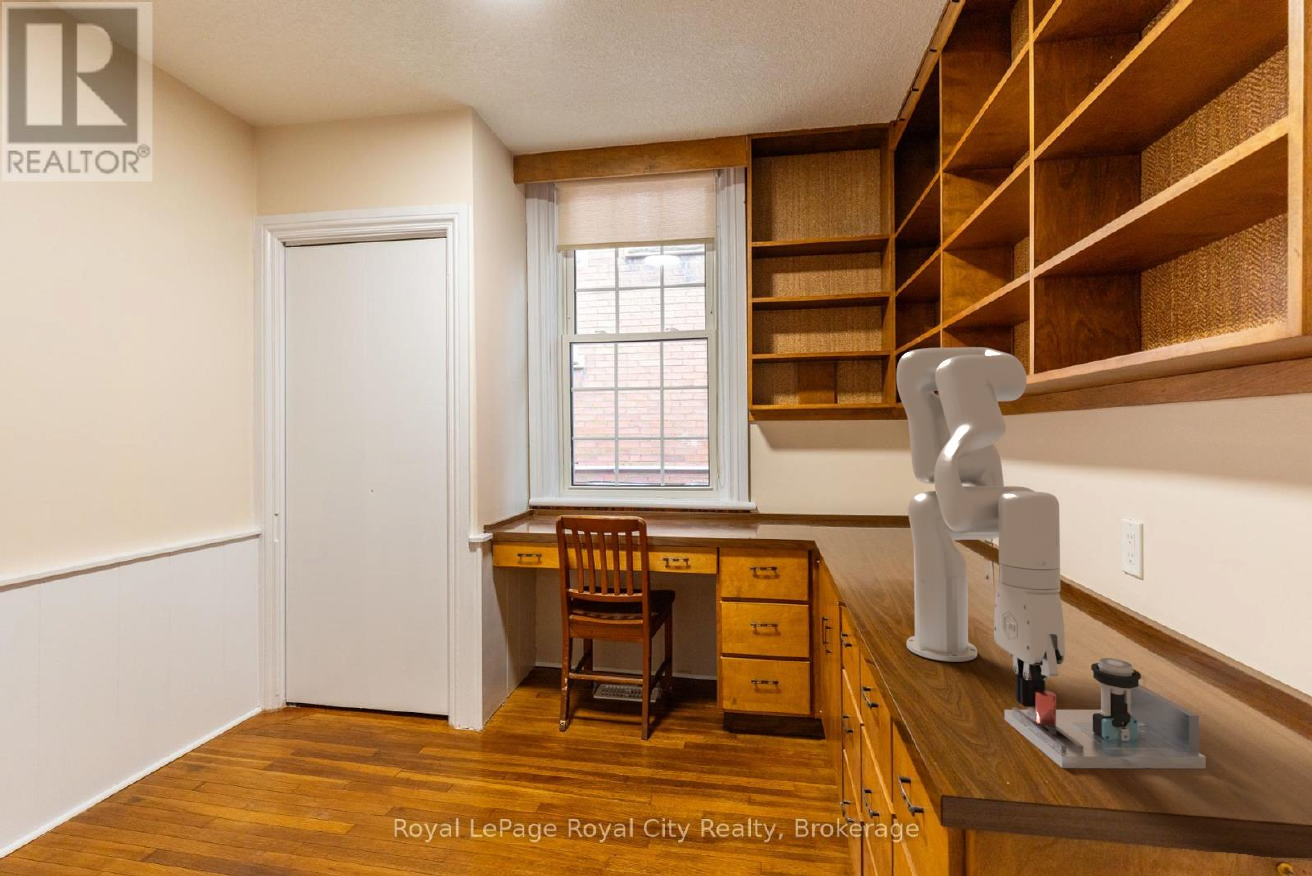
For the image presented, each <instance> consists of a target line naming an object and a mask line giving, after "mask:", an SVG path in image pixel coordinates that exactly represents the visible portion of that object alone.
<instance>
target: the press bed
mask: <svg viewBox="0 0 1312 876" xmlns="http://www.w3.org/2000/svg"><path fill="white" fill-rule="evenodd" d="M1100 711H1101V709H1056V726H1055V727H1057V735H1051V734H1050V733H1049V732H1047V731H1046V730H1045V729H1044V728H1042V727H1041V726H1040V725H1038V724H1037V723H1036V720H1035V708H1033V707H1027V709H1019V708H1018V707H1016V706H1014V707H1012V708H1011V709H1004V720H1005V722H1007V723H1008V724H1009V725H1010V726H1012V727H1013V728H1014V729H1015V730H1016V731H1018V733H1020V734H1021V735H1023V737H1025V738H1026V739H1027V740H1028V741H1029V742H1030V743H1032V744H1033V745H1034V746H1035V747H1036V748H1037V749H1039V750H1040V751H1041V752H1042V753H1043V754H1045V755H1046V756H1047V757H1048V758H1049V759H1051V761H1052V762H1054V763H1056V765H1058V766H1059V767H1060V768H1061V769H1180V770H1181V769H1197V770H1199V769H1200V770H1201V769H1207V768H1206V767H1207V763H1206V762H1207V758H1206V757H1207V756H1205V755H1204V754H1202V753H1200V735H1199V734H1200V731H1199V730H1200V728H1199V727H1200V726H1199V725H1200V724H1199V715H1198V714H1197V713H1195V712H1193V711H1191V710H1188V709H1187V708H1185V707H1183V706H1181V705H1179V704H1178V703H1175V702H1174V701H1172V700H1169V699H1168V698H1166V697H1164V696H1162V695H1160V694H1158V693H1157V692H1155V691H1152V690H1151V689H1149V688H1147V687H1145V686H1144V685H1142V684H1139V686H1138V687H1135V688H1132V689H1131V712H1132V715H1130V716H1131V717H1133V718H1135V719H1137V720H1138V722H1141V723H1143V724H1145V726H1139V727H1138V729H1142V730H1144V731H1145V732H1142V733H1138V737H1137V739H1130V740H1129V741H1123V740H1105V739H1104V738H1102V737H1101V736H1099V735H1097V734H1096V733H1094V732H1093V714H1094V713H1100ZM1140 725H1141V724H1140ZM1138 731H1140V730H1138Z"/></svg>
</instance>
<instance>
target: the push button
mask: <svg viewBox="0 0 1312 876" xmlns="http://www.w3.org/2000/svg"><path fill="white" fill-rule="evenodd" d="M1090 668H1091V669H1090V670H1091V671H1093V674H1092V677H1093V679H1095V680H1096V681H1097V682H1099V684H1100V710H1101V711H1100V713H1094V714H1093V732H1094V733H1096V734H1097V735H1099V736H1101V737H1102V738H1104V739H1105V740H1123V741H1129V740H1130V739H1137V737H1138V733H1142V732H1145V731H1144V730H1142V729H1138V727H1139V726H1145V724H1143V723H1141V722H1138V720H1137V719H1135V718H1133V717H1131V716H1130V715H1132V712H1131V689H1132V688H1135V687H1138V686H1139V685H1140V684H1139V680H1141V678H1142V675H1141V672H1139V671H1138V670H1136V669H1134V668H1133V665H1132V664H1131V663H1130V662H1128V661H1125V660H1121V659H1118V658H1112V657H1111V658H1110V657H1103V658H1099V660H1098V662H1094V663H1092V664H1091V665H1090ZM1140 724H1141V725H1140ZM1138 730H1140V731H1138Z"/></svg>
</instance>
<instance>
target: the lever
mask: <svg viewBox="0 0 1312 876" xmlns="http://www.w3.org/2000/svg"><path fill="white" fill-rule="evenodd" d="M1034 710H1035V720H1036V723H1037V724H1038V725H1040V726H1041V727H1042V728H1044V729H1045V730H1046V731H1047V732H1049V733H1050V734H1051V735H1057V727H1055V726H1056V710H1057V694H1056V693H1054V692H1053V691H1050V690H1046V689H1045V690H1036V691H1035V707H1034Z"/></svg>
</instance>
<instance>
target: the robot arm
mask: <svg viewBox="0 0 1312 876" xmlns="http://www.w3.org/2000/svg"><path fill="white" fill-rule="evenodd" d="M896 386H897V391H898V394H899V398H900V400H901V404H902V406H903V408H904V411H905V413H906V416H907V422H908V432H909V433H908V434H909V443H910V455H911V463H912V464H911V465H912V472H913V474H914V477H915V478H916V480H918V481H919V482H920V483H923V484H928V485H934V488H935V490H928V491H924V492H920V493H917V494H916V495H915V496H913V497H912V499H910V501H909V504H908V508H907V509H908V510H907V513H908V520H909V526H910V531H911V537H912V545H913V548H912V549H913V570H914V571H913V574H914V575H913V576H914V577H913V578H914V579H913V580H914V581H913V582H914V583H913V585H914V590H913V591H914V596H913V597H914V623H913V624H914V635H912V636H910V637H909V638H908V639H906V647H907V649H908V650H909V651H910V652H911V653H913V654H915V655H917V656H920V657H923V658H925V659H926V658H927V659H931V660H934V661H939V662H940V661H941V662H951V663H952V662H953V663H955V662H956V663H960V662H961V663H962V662H969V661H972V660H974V659H976V658H977V657H978V649H977V647H976V646H975V645H973V644H972V643H970V642H969V610H968V609H969V607H968V606H969V602H968V600H969V599H968V598H969V597H968V593H969V592H968V590H969V588H968V581H969V580H968V563H967V560H966V558H965V556H964V555H963V553H961V551H960V550H959V549H958V548H957V546H956V545H955V543H954V541H961V540H996V539H997V538H998V583H997V587H996V593H995V603H994V615H993V616H994V617H993V639H994V642H995V643H996V644H997V645H998V646H999V647H1000V648H1002V649H1003V650H1004V651H1006V652H1008V654H1009V655H1010V656H1011V658H1012V666H1013V671H1014V673H1015V700H1016V702H1017V703H1019V704H1020V705H1021V706H1022V707H1024V708H1026V707H1032V708H1033V707H1034V708H1035V691H1036V690H1046V681H1047V680H1048V677H1058V676H1059V669H1058V665H1062V664H1063V663H1064V661H1065V656H1066V635H1065V634H1066V633H1065V623H1064V622H1065V621H1064V614H1063V611H1064V610H1063V606H1062V605H1063V604H1062V601H1061V595H1060V592H1061V545H1060V542H1061V537H1060V536H1061V533H1060V532H1061V531H1060V526H1061V525H1060V523H1061V522H1060V504H1059V503H1060V502H1059V500H1058V498H1057V497H1056V496H1055V495H1054V494H1052V493H1049V492H1044V491H1043V492H1042V491H1035V490H1033V489H1031V488H1029V487H1024V486H1016V485H1015V486H1014V485H1013V486H1012V485H1011V486H1010V485H1009V486H1007V485H1006V486H1005V484H1004V476H1003V475H1004V474H1003V467H1002V461H1001V460H1002V459H1001V456H1000V453H999V451H998V449H997V446H996V445H995V443H997V442H998V441H999V440H1000V439H1002V437H1004V435H1005V432H1006V430H1007V427H1006V421H1005V420H1004V419H1005V418H1004V417H1003V413H1002V411H1001V407H1000V406H999V402H1012V401H1015V400H1018V399H1019V398H1021V397H1022V395H1023V394H1024V393H1025V390H1026V388H1027V373H1026V370H1025V367H1024V365H1023V364H1022V362H1021V361H1020V360H1019V358H1017V357H1016V356H1015V355H1013V354H1010V353H1007V352H1004V351H1000V350H996V349H993V348H989V347H984V346H983V347H980V346H977V347H976V346H972V347H971V346H969V347H968V346H967V347H966V346H965V347H928V348H919V349H912V350H909V351H908V352H906V353H904V354H903V355H902V356H901V358H900V359H899V361H898V363H897V368H896ZM935 392H937V393H938V395H937V394H936V393H935ZM965 485H967V486H965Z"/></svg>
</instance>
